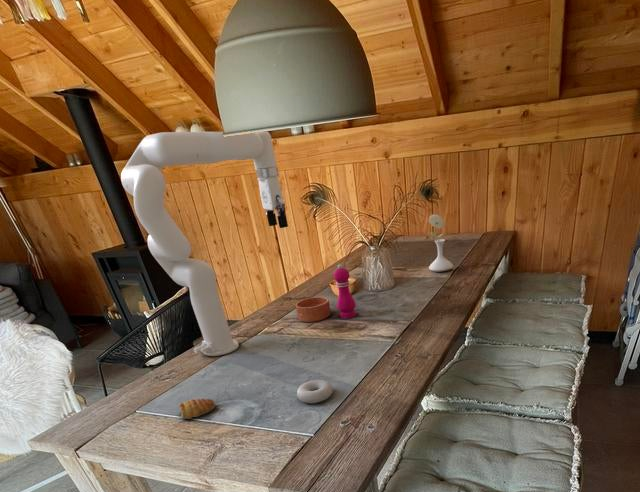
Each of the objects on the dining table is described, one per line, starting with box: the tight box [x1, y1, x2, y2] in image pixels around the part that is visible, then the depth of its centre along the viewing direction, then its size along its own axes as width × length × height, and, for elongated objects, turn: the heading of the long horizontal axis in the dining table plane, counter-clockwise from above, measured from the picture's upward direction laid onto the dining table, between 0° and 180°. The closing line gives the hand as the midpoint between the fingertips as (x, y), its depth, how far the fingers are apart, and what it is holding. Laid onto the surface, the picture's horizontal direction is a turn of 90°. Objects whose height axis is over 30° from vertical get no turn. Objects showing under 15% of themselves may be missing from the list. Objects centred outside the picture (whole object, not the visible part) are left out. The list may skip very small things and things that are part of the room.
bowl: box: [294, 296, 332, 323], centre depth 186 cm, size 13×13×6 cm
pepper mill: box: [333, 263, 357, 320], centre depth 179 cm, size 7×7×20 cm
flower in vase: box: [428, 214, 454, 273], centre depth 218 cm, size 13×11×25 cm
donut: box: [296, 379, 333, 404], centre depth 129 cm, size 10×4×10 cm
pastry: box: [178, 398, 216, 420], centre depth 129 cm, size 9×7×4 cm
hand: (278, 226), depth 171 cm, fingers open, 9 cm apart
